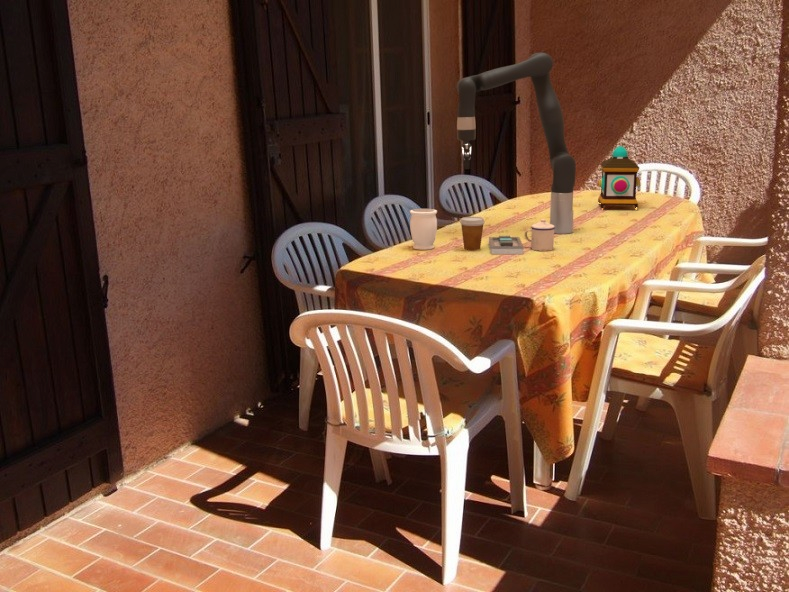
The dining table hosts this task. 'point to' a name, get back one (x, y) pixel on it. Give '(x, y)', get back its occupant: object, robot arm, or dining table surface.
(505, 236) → the grey rectangular prism
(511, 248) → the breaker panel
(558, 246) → the dining table surface
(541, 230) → the teacup with lid
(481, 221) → the disposable coffee cup
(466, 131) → the robot arm
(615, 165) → the decorative lantern
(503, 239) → the teal rectangular box
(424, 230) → the jar
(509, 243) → the dark taupe block
